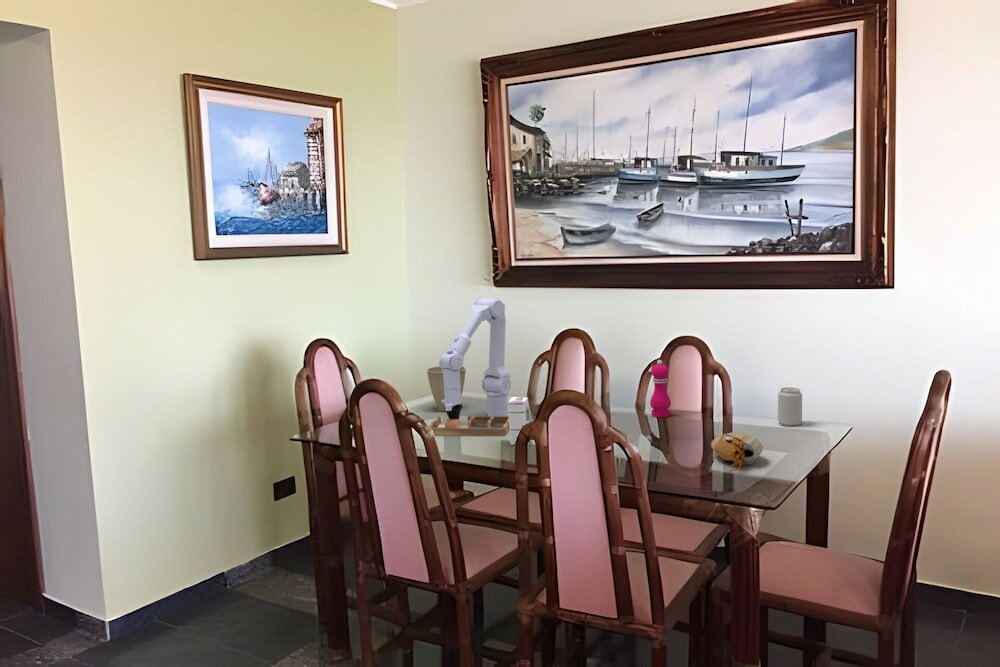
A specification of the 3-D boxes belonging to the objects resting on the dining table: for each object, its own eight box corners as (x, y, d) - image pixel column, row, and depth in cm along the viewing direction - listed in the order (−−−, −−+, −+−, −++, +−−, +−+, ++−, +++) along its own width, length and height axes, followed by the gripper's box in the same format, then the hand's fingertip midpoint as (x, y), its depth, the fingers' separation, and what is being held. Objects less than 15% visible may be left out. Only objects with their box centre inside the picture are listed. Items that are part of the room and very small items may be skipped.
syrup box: (527, 445, 257) (525, 400, 255) (509, 444, 258) (507, 400, 256) (530, 440, 262) (528, 396, 260) (512, 440, 263) (510, 396, 261)
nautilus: (757, 479, 217) (701, 476, 223) (768, 452, 235) (716, 450, 242) (755, 451, 215) (698, 449, 222) (766, 426, 234) (714, 425, 241)
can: (778, 426, 265) (778, 391, 263) (777, 420, 272) (777, 386, 270) (802, 427, 263) (802, 391, 261) (801, 421, 270) (801, 386, 268)
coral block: (448, 430, 277) (447, 418, 276) (459, 430, 276) (458, 418, 276) (445, 433, 273) (444, 421, 272) (456, 433, 272) (456, 421, 272)
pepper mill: (671, 417, 282) (670, 361, 279) (650, 418, 283) (649, 362, 281) (670, 412, 289) (669, 358, 286) (650, 413, 290) (649, 358, 288)
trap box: (438, 424, 288) (438, 416, 288) (513, 424, 283) (512, 416, 283) (426, 437, 271) (425, 428, 271) (504, 437, 266) (504, 428, 266)
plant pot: (466, 413, 302) (463, 371, 300) (426, 414, 303) (424, 373, 301) (469, 404, 317) (467, 364, 315) (431, 405, 318) (429, 365, 316)
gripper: (446, 383, 284) (448, 421, 285) (435, 392, 269) (437, 431, 271) (465, 383, 282) (467, 421, 284) (456, 392, 268) (458, 432, 270)
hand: (454, 426), depth 278 cm, fingers closed
